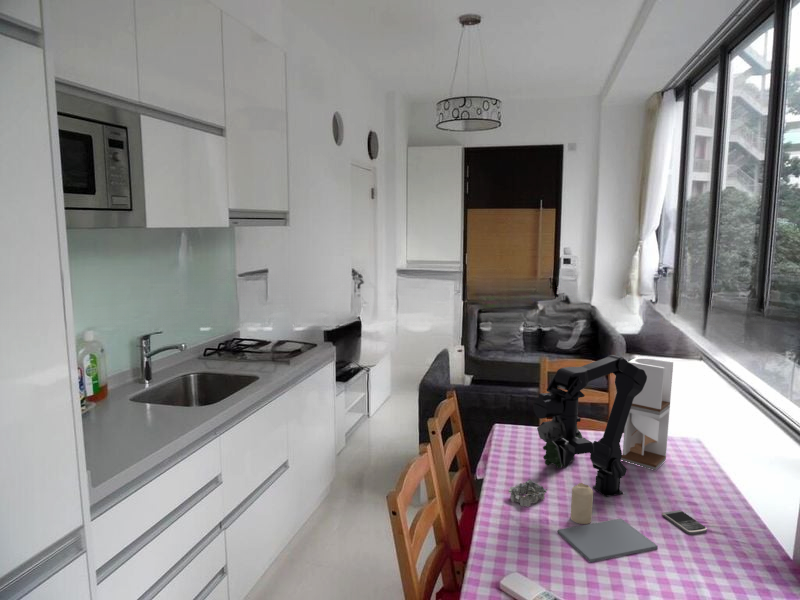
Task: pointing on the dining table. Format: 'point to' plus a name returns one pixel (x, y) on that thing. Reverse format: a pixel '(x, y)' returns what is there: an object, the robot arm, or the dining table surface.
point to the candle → (581, 504)
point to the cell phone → (685, 522)
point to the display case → (649, 415)
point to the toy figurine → (554, 454)
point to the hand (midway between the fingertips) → (564, 464)
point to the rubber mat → (606, 540)
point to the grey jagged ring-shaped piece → (532, 495)
